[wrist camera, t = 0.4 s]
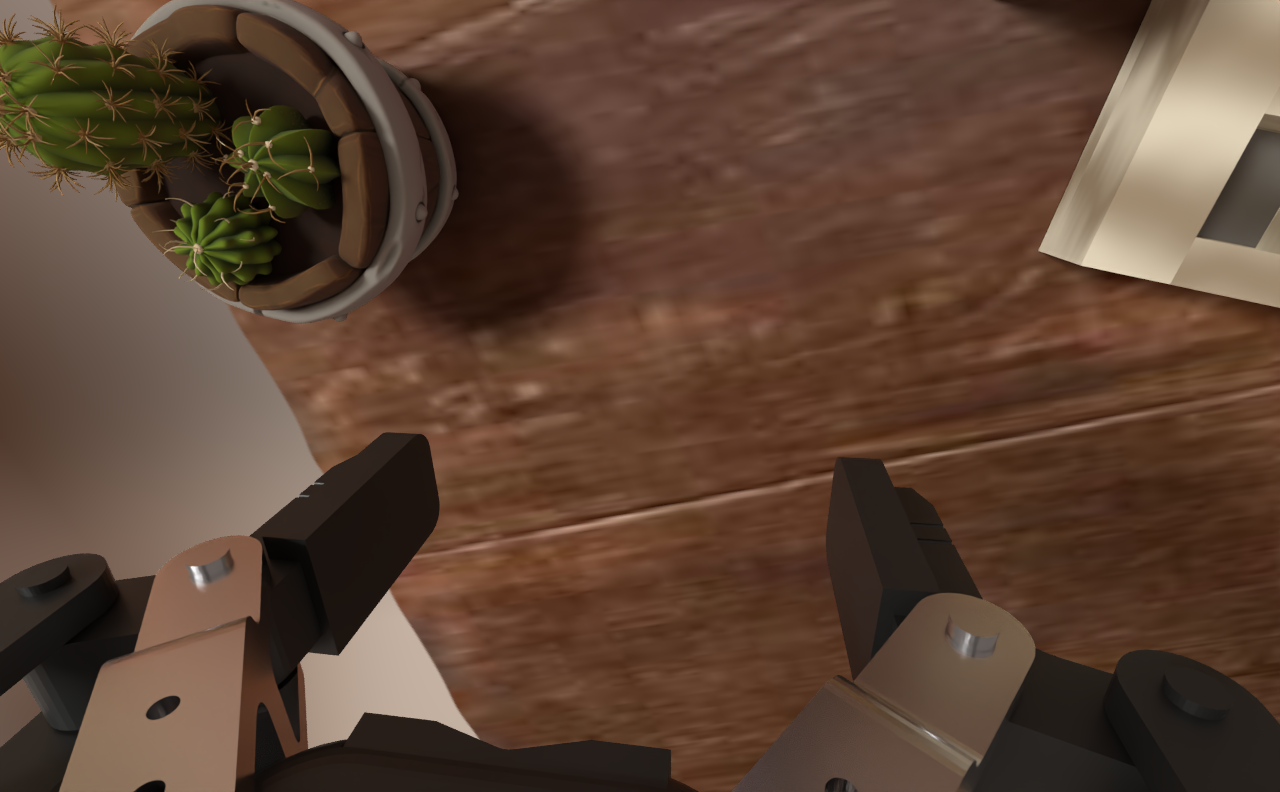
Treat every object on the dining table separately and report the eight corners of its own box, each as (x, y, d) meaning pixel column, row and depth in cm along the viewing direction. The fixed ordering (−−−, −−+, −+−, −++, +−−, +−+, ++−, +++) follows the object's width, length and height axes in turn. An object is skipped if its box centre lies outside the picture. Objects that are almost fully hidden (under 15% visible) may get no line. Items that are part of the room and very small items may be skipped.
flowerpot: (544, 179, 36) (351, 213, 18) (384, 327, 41) (108, 471, 23) (369, -41, 33) (-84, -274, 15) (219, 149, 38) (-251, 153, 20)
